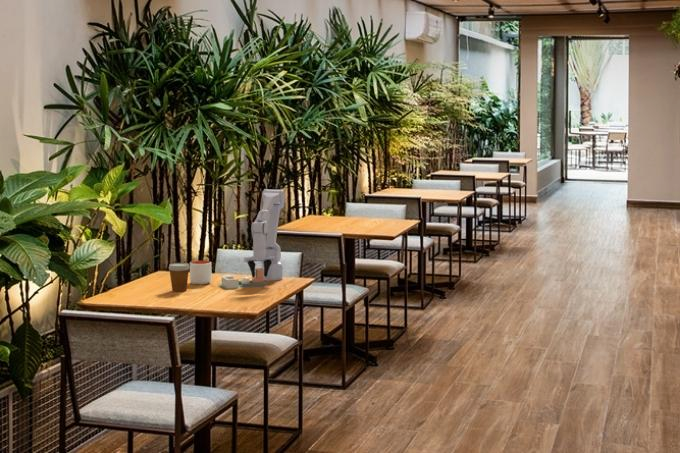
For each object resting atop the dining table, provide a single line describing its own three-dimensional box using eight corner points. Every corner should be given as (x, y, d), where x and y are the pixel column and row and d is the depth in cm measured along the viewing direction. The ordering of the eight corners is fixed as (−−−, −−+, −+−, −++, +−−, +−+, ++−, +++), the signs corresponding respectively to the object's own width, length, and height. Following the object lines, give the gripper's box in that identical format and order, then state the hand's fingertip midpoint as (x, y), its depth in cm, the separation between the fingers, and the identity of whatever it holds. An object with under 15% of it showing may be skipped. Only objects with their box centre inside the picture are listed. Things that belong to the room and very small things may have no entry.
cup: (213, 281, 481) (213, 260, 480) (208, 285, 471) (208, 264, 470) (192, 281, 482) (192, 260, 481) (187, 284, 472) (187, 263, 471)
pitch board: (259, 282, 479) (259, 272, 478) (269, 288, 466) (269, 277, 465) (216, 285, 470) (216, 275, 470) (225, 291, 458) (225, 280, 457)
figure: (260, 282, 472) (260, 267, 471) (264, 284, 467) (264, 269, 466) (252, 283, 470) (252, 268, 469) (255, 285, 466) (255, 270, 465)
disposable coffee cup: (185, 293, 452) (185, 266, 450) (165, 292, 454) (165, 265, 452) (193, 289, 461) (192, 263, 460) (173, 288, 463) (172, 262, 462)
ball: (248, 284, 469) (248, 275, 468) (250, 285, 465) (250, 277, 465) (240, 284, 467) (239, 276, 467) (242, 286, 464) (242, 277, 463)
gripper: (247, 249, 460) (247, 278, 462) (277, 247, 466) (277, 277, 468) (242, 247, 467) (242, 276, 469) (272, 245, 472) (272, 274, 474)
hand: (259, 276), depth 469 cm, fingers open, 5 cm apart
